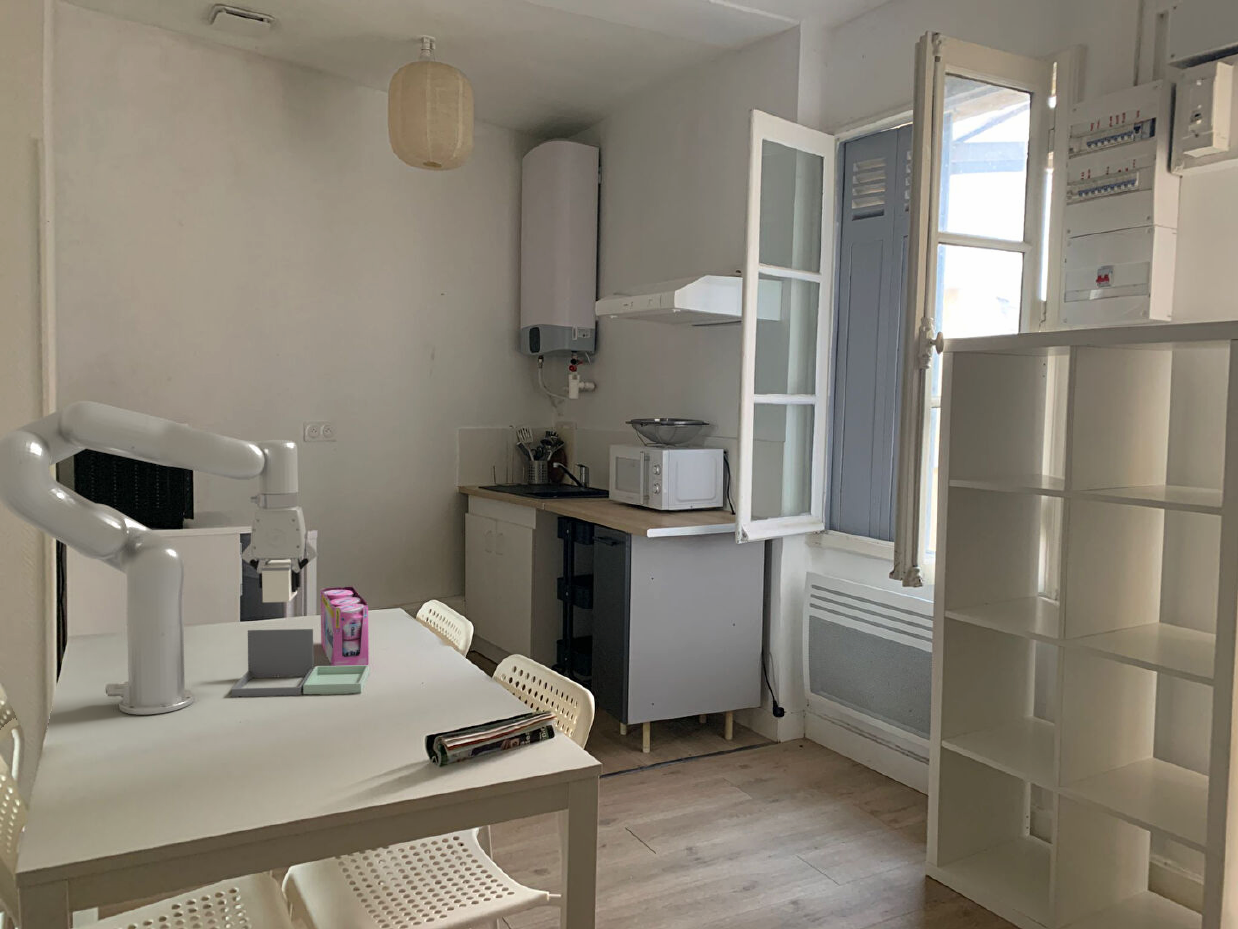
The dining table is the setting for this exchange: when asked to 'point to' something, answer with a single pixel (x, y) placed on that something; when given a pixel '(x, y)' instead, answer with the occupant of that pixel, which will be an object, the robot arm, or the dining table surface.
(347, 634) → the gum box
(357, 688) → the tray
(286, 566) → the cream upright block
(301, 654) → the holder
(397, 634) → the dining table surface
